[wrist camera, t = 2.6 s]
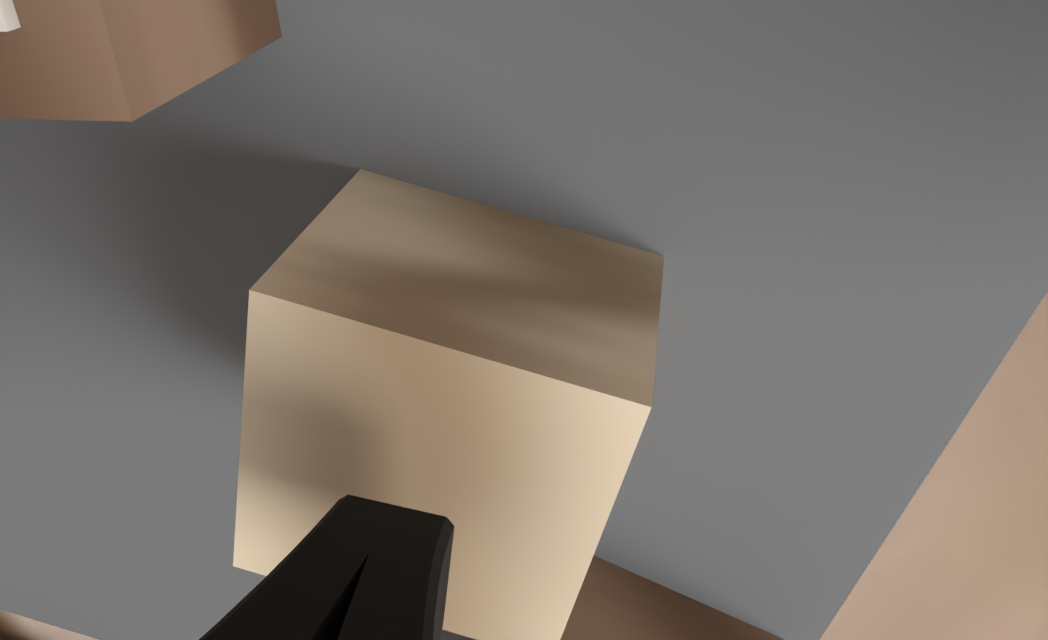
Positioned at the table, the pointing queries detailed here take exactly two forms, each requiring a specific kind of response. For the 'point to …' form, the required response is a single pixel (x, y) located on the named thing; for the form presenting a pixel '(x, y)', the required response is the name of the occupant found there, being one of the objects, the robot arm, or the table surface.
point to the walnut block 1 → (120, 53)
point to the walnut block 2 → (646, 611)
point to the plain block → (449, 391)
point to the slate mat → (564, 200)
